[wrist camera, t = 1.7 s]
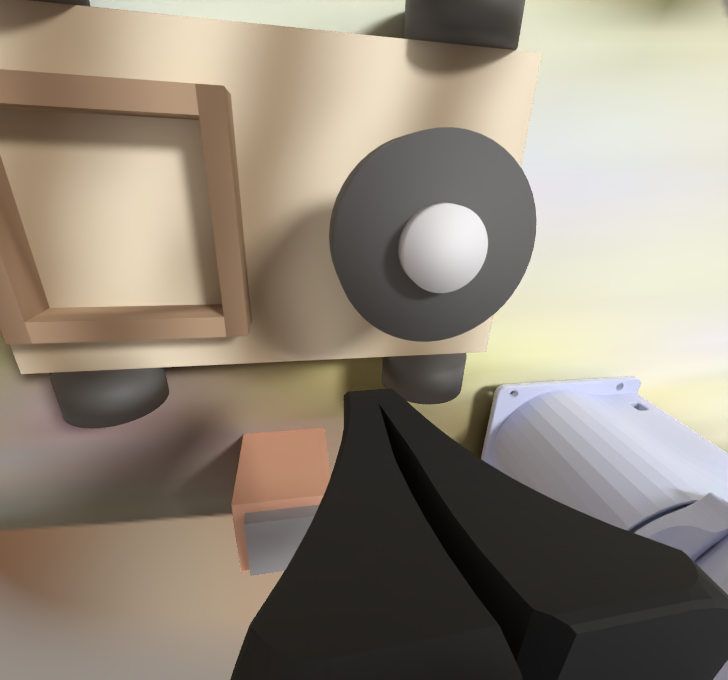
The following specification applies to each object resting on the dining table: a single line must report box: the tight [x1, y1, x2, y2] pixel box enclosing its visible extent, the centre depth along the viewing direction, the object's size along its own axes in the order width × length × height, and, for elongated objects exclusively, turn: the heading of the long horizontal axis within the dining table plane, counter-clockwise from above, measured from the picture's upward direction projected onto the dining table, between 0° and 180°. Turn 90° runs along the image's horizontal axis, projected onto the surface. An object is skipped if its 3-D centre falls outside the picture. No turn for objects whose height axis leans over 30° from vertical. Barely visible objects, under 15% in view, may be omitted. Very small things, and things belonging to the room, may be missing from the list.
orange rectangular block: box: [231, 428, 331, 575], centre depth 20 cm, size 4×4×6 cm
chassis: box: [0, 0, 542, 428], centre depth 15 cm, size 20×16×4 cm
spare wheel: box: [329, 127, 536, 342], centre depth 11 cm, size 6×6×2 cm
